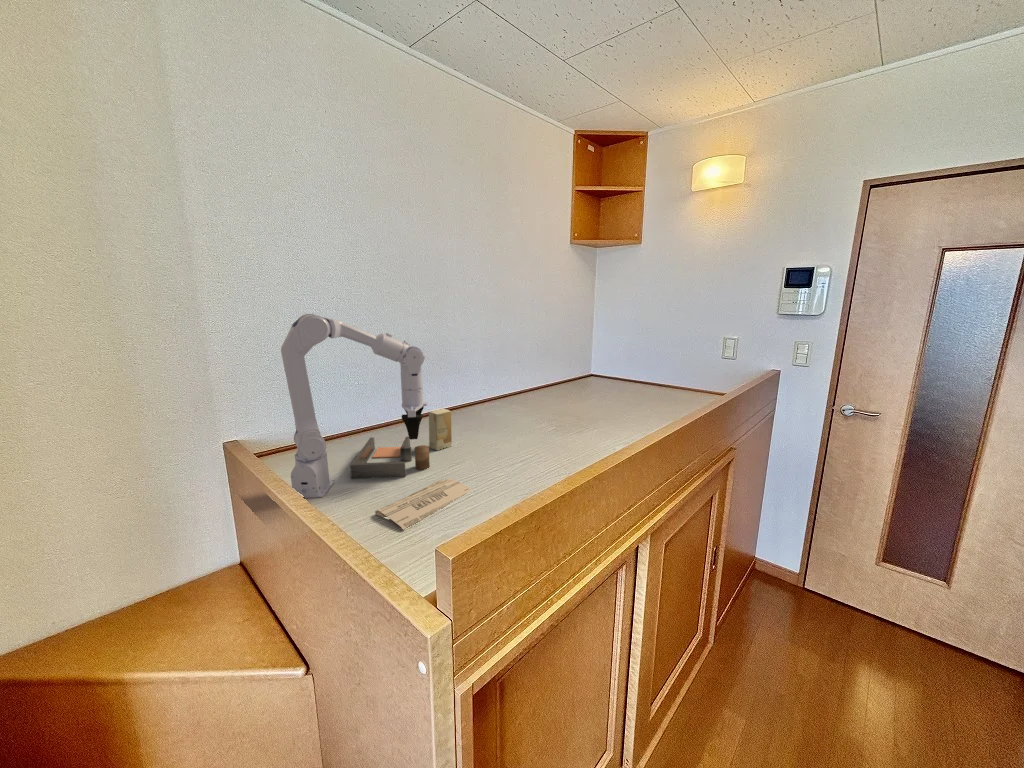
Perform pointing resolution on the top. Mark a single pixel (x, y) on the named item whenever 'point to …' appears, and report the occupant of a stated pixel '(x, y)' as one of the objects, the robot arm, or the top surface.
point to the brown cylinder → (422, 457)
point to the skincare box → (440, 429)
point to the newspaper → (423, 502)
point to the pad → (387, 452)
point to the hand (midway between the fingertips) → (414, 434)
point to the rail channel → (379, 463)
